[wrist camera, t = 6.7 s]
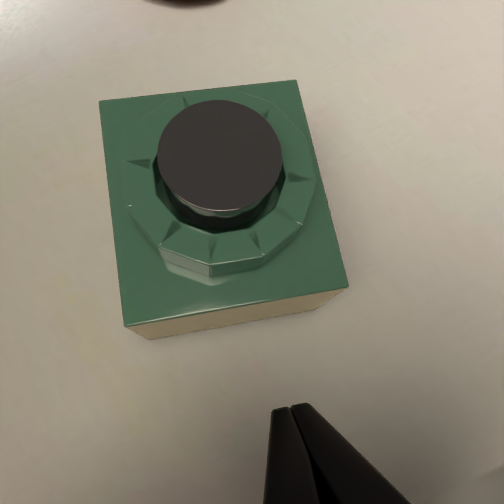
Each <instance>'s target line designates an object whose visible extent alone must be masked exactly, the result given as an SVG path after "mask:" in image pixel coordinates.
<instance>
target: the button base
mask: <svg viewBox="0 0 504 504" xmlns="http://www.w3.org/2000/svg"><path fill="white" fill-rule="evenodd" d="M209 100H227V101H233V102H237V103H240V104H243V105H245V106H248V107H250V108H251V109H253V110H255V111H256V112H258V113H259V114H260V115H262V116H263V117H264V118H265V119H266V120H267V121H268V122H269V124H270V125H271V126H272V128H273V129H274V131H275V132H276V134H277V136H278V139H279V142H280V145H281V150H282V166H281V170H280V174H279V177H278V180H277V183H276V186H275V189H274V192H273V195H272V197H271V200H270V201H269V203H268V204H267V206H266V207H265V208H264V210H263V211H262V212H261V213H260V214H259V215H257V216H256V217H255V218H253V219H252V220H250V221H248V222H246V223H244V224H242V225H239V226H235V227H231V228H210V227H205V226H202V225H199V224H196V223H194V222H192V221H190V220H188V219H187V218H185V217H184V216H183V215H181V214H180V213H179V212H178V211H177V210H176V209H175V208H174V206H173V205H172V204H171V202H170V201H169V199H168V197H167V195H166V192H165V190H164V186H163V182H162V178H161V174H160V171H159V166H158V161H157V148H158V143H159V139H160V137H161V134H162V132H163V130H164V128H165V127H166V125H167V124H168V123H169V121H170V120H171V119H172V118H173V117H174V116H175V115H176V114H178V113H179V112H180V111H182V110H183V109H185V108H187V107H189V106H191V105H193V104H196V103H199V102H203V101H209ZM99 110H100V119H101V128H102V137H103V145H104V154H105V163H106V172H107V181H108V190H109V198H110V207H111V216H112V225H113V234H114V243H115V251H116V260H117V269H118V278H119V287H120V296H121V305H122V313H123V322H124V327H126V328H127V329H129V330H131V331H133V332H135V333H136V334H138V335H140V336H142V337H144V338H145V339H147V340H153V339H158V338H164V337H169V336H175V335H180V334H185V333H191V332H196V331H202V330H207V329H213V328H218V327H223V326H229V325H234V324H240V323H245V322H251V321H256V320H262V319H267V318H272V317H278V316H283V315H289V314H294V313H300V312H305V311H310V310H315V309H316V308H318V307H319V306H321V305H322V304H324V303H325V302H327V301H328V300H330V299H331V298H333V297H334V296H336V295H337V294H339V293H340V292H342V291H343V290H345V289H346V288H348V287H349V284H348V280H347V276H346V272H345V269H344V265H343V261H342V257H341V253H340V249H339V245H338V241H337V237H336V233H335V229H334V225H333V221H332V218H331V214H330V210H329V206H328V202H327V198H326V194H325V190H324V186H323V182H322V178H321V174H320V170H319V166H318V163H317V159H316V155H315V151H314V147H313V143H312V139H311V135H310V131H309V127H308V123H307V119H306V115H305V112H304V108H303V104H302V100H301V96H300V92H299V88H298V84H297V81H296V80H287V81H278V82H268V83H259V84H250V85H241V86H232V87H222V88H213V89H204V90H195V91H185V92H176V93H167V94H158V95H149V96H139V97H130V98H121V99H112V100H102V101H99Z"/></svg>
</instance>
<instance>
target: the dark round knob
mask: <svg viewBox="0 0 504 504" xmlns="http://www.w3.org/2000/svg"><path fill="white" fill-rule="evenodd" d="M157 161H158V166H159V171H160V174H161V178H162V182H163V186H164V190H165V192H166V195H167V197H168V199H169V201H170V202H171V204H172V205H173V206H174V208H175V209H176V210H177V211H178V212H179V213H180V214H181V215H183V216H184V217H185V218H187V219H188V220H190V221H192V222H194V223H196V224H199V225H202V226H205V227H210V228H231V227H235V226H239V225H242V224H244V223H246V222H248V221H250V220H252V219H253V218H255V217H256V216H257V215H259V214H260V213H261V212H262V211H263V210H264V208H265V207H266V206H267V204H268V203H269V201H270V200H271V197H272V195H273V192H274V189H275V186H276V183H277V180H278V177H279V174H280V170H281V166H282V150H281V145H280V142H279V139H278V136H277V134H276V132H275V131H274V129H273V128H272V126H271V125H270V124H269V122H268V121H267V120H266V119H265V118H264V117H263V116H262V115H260V114H259V113H258V112H256V111H255V110H253V109H251V108H250V107H248V106H245V105H243V104H240V103H237V102H233V101H227V100H209V101H203V102H199V103H196V104H193V105H191V106H189V107H187V108H185V109H183V110H182V111H180V112H179V113H178V114H176V115H175V116H174V117H173V118H172V119H171V120H170V121H169V123H168V124H167V125H166V127H165V128H164V130H163V132H162V134H161V137H160V139H159V143H158V148H157Z"/></svg>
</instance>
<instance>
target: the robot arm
mask: <svg viewBox="0 0 504 504" xmlns="http://www.w3.org/2000/svg"><path fill="white" fill-rule="evenodd" d="M263 504H411V503H410V502H409V501H408V500H407V499H406V498H405V497H404V496H403V495H402V494H401V493H400V492H399V491H398V490H397V489H396V488H395V487H394V486H393V485H392V484H391V483H390V482H389V481H388V480H387V479H386V478H385V477H384V476H383V475H382V474H381V473H380V472H379V471H378V470H377V469H376V468H375V467H374V466H373V465H371V464H370V463H369V462H368V461H367V460H366V459H365V458H364V457H363V456H362V455H361V454H360V453H359V452H358V451H357V450H356V449H355V448H354V447H353V446H352V445H351V444H350V443H349V442H348V441H347V440H346V439H345V438H344V437H343V436H342V435H341V434H340V433H339V432H338V431H337V430H336V429H335V428H334V427H333V426H332V425H331V424H330V423H329V422H328V421H327V420H325V419H324V418H323V417H322V416H321V415H320V414H319V413H318V412H317V411H316V410H315V409H314V408H313V407H312V406H311V405H310V404H309V403H301V404H296V405H292V406H291V407H290V408H289V407H282V408H278V409H274V410H272V412H271V421H270V432H269V444H268V455H267V466H266V477H265V488H264V499H263Z"/></svg>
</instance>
